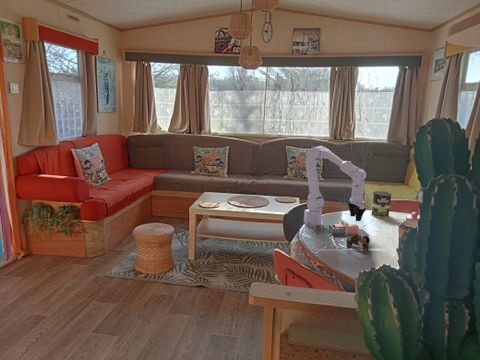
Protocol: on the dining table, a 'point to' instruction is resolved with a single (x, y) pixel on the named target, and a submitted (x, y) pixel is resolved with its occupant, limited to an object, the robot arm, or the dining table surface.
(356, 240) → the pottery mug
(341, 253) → the dining table surface
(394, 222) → the dining table surface
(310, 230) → the dining table surface
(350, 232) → the copper rectangular block
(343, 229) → the dispenser
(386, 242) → the dining table surface
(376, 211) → the coffee can
